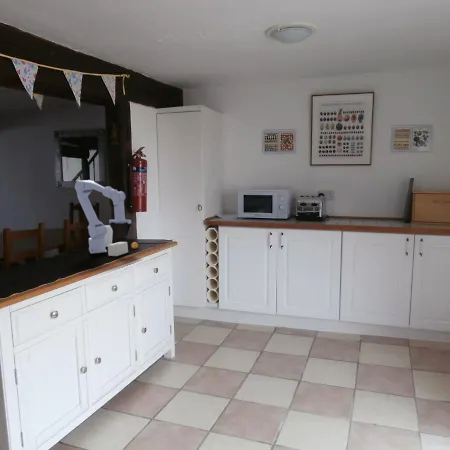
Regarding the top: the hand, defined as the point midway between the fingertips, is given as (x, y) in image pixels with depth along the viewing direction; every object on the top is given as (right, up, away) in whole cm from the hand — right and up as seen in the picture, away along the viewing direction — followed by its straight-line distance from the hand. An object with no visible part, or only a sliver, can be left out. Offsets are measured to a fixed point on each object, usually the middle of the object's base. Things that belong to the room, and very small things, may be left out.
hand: (121, 235), depth 244 cm
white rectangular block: (-1, -11, -1) cm, 11 cm away
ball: (+5, -6, +14) cm, 16 cm away
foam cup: (-16, -8, +29) cm, 34 cm away
